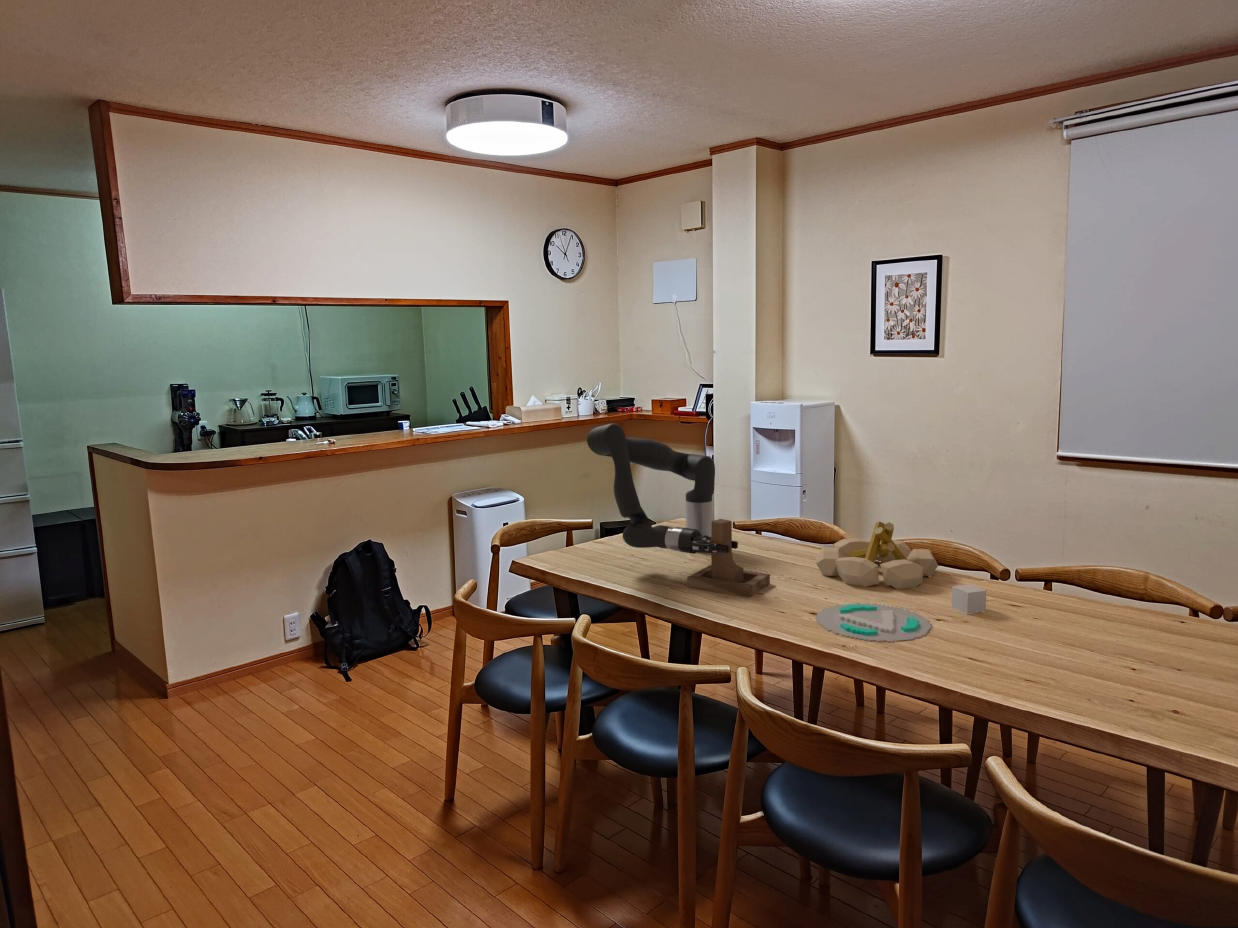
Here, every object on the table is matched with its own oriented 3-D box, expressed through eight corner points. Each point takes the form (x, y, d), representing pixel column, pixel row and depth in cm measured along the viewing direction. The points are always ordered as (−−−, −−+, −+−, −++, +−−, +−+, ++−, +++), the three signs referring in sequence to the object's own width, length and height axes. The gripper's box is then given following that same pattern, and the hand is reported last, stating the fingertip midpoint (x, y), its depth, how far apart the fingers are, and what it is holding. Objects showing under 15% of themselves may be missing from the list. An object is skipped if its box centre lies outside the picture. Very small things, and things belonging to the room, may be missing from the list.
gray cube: (969, 605, 223) (970, 584, 222) (985, 612, 217) (986, 590, 216) (951, 607, 221) (952, 586, 220) (967, 614, 215) (968, 592, 214)
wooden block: (743, 582, 243) (744, 523, 240) (734, 585, 240) (734, 525, 237) (720, 575, 249) (720, 518, 246) (710, 578, 246) (710, 520, 243)
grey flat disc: (847, 648, 195) (847, 641, 195) (799, 610, 223) (800, 605, 222) (953, 637, 201) (953, 631, 200) (894, 602, 228) (894, 597, 228)
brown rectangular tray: (710, 574, 257) (710, 565, 256) (769, 583, 246) (769, 573, 245) (687, 586, 244) (687, 577, 244) (748, 597, 233) (748, 587, 233)
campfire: (912, 598, 230) (914, 539, 228) (800, 579, 251) (801, 524, 248) (948, 569, 258) (950, 516, 255) (844, 553, 278) (845, 504, 275)
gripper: (671, 532, 245) (722, 540, 236) (694, 523, 257) (743, 530, 247) (671, 556, 246) (722, 565, 237) (694, 546, 258) (743, 554, 249)
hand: (733, 547), depth 242 cm, fingers closed on wooden block, 5 cm apart
